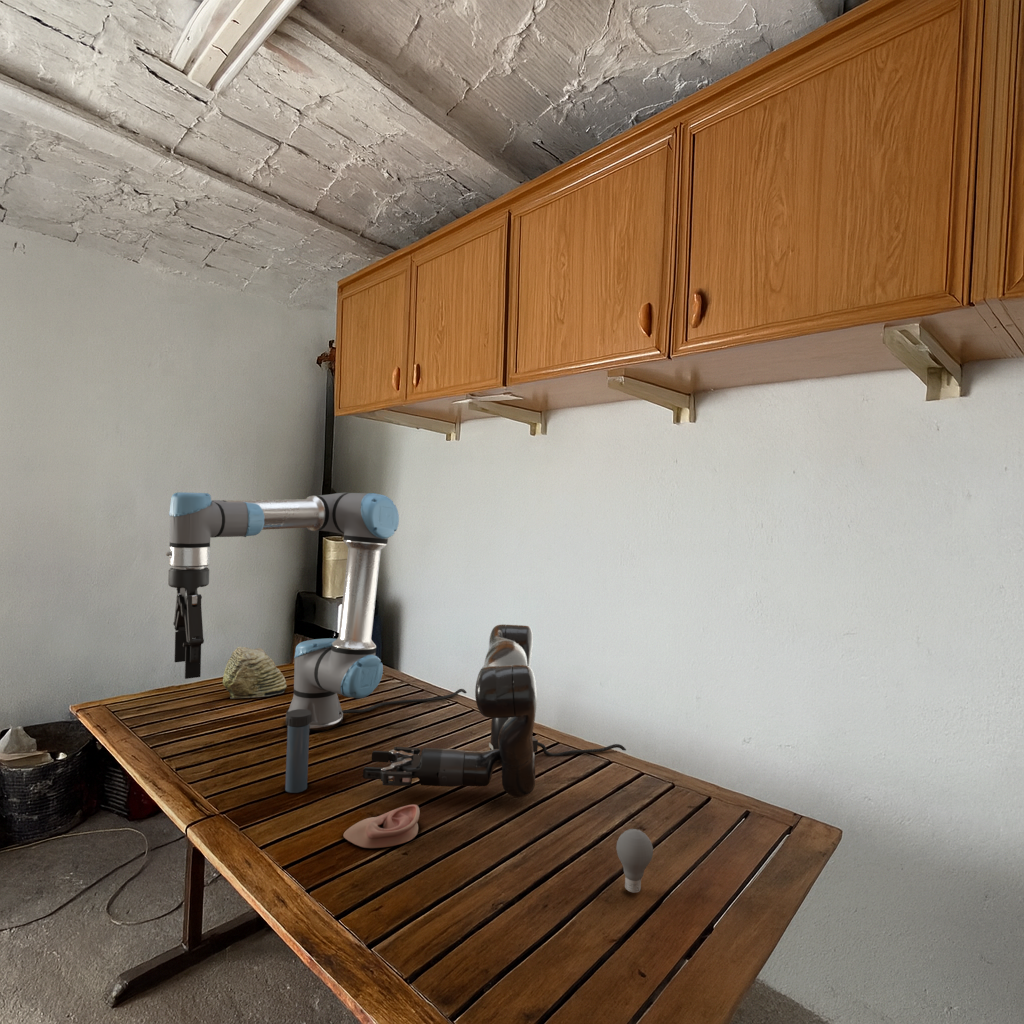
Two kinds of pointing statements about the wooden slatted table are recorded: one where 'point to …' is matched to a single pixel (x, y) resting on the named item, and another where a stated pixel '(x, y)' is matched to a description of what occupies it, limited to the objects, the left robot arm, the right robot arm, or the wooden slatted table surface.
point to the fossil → (252, 674)
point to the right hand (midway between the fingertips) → (367, 764)
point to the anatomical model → (385, 828)
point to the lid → (298, 718)
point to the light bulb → (634, 857)
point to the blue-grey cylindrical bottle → (297, 758)
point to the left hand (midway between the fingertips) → (186, 669)
